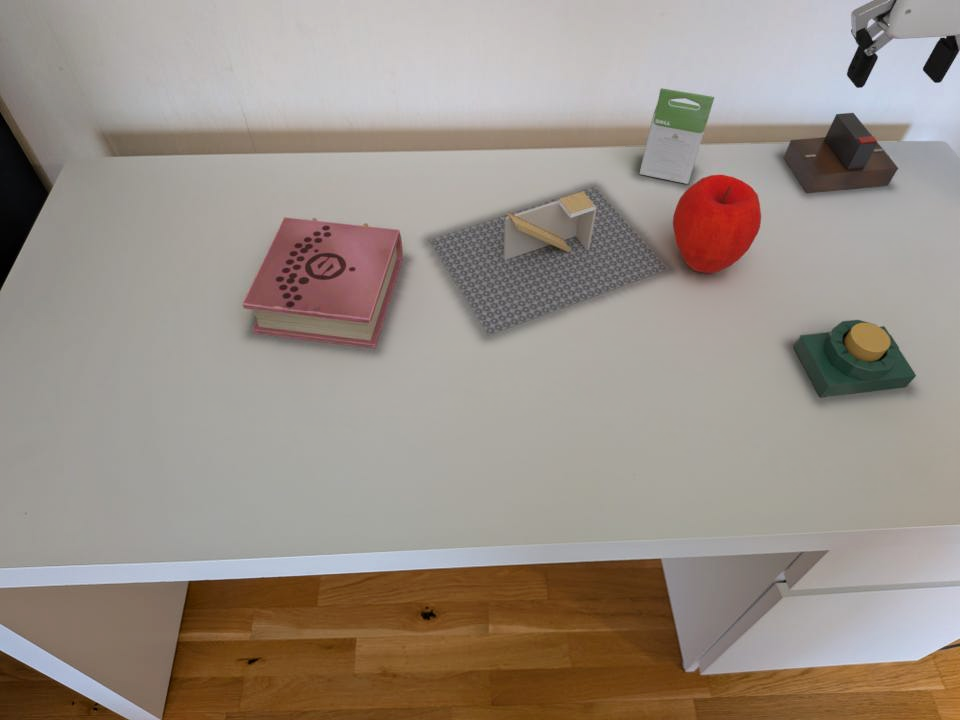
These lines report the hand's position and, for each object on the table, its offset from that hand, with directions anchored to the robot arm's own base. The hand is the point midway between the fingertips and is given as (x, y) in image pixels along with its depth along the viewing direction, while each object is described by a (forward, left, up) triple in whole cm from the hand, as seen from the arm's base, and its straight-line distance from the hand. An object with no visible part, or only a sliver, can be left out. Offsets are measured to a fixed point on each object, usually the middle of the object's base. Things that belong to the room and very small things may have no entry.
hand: (892, 79), depth 82 cm
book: (+70, +11, -16) cm, 72 cm away
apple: (+24, +12, -16) cm, 31 cm away
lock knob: (-1, -3, -13) cm, 14 cm away
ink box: (+23, -6, -16) cm, 29 cm away
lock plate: (-1, -3, -16) cm, 17 cm away
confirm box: (+13, +30, -16) cm, 36 cm away
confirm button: (+13, +30, -13) cm, 35 cm away
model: (+43, +8, -16) cm, 46 cm away
